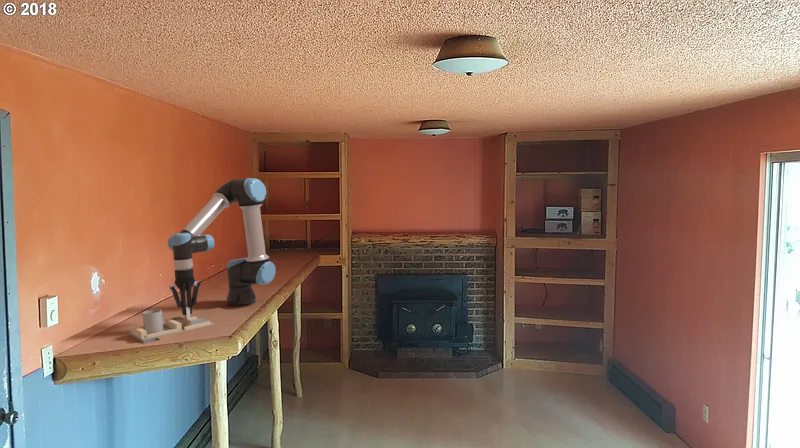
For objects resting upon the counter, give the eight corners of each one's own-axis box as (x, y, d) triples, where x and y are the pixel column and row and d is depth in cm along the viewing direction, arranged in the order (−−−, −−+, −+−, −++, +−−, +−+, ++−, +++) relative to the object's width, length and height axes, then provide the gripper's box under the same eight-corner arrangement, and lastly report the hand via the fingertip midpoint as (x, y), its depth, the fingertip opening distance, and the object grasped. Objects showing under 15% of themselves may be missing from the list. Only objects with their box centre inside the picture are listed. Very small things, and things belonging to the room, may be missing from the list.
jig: (199, 320, 243) (198, 311, 243) (216, 326, 230) (215, 317, 230) (129, 334, 223) (128, 325, 223) (143, 343, 210) (143, 332, 209)
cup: (140, 334, 218) (138, 313, 217) (156, 327, 228) (155, 307, 227) (155, 335, 216) (153, 313, 216) (171, 328, 226) (169, 308, 225)
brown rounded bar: (180, 322, 235) (180, 316, 234) (191, 327, 226) (191, 320, 226) (171, 324, 232) (171, 318, 232) (182, 329, 223) (181, 322, 223)
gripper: (195, 265, 236) (199, 317, 238) (165, 270, 227) (169, 323, 229) (202, 267, 231) (206, 320, 232) (171, 271, 222) (176, 326, 224)
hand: (187, 321), depth 231 cm, fingers closed
